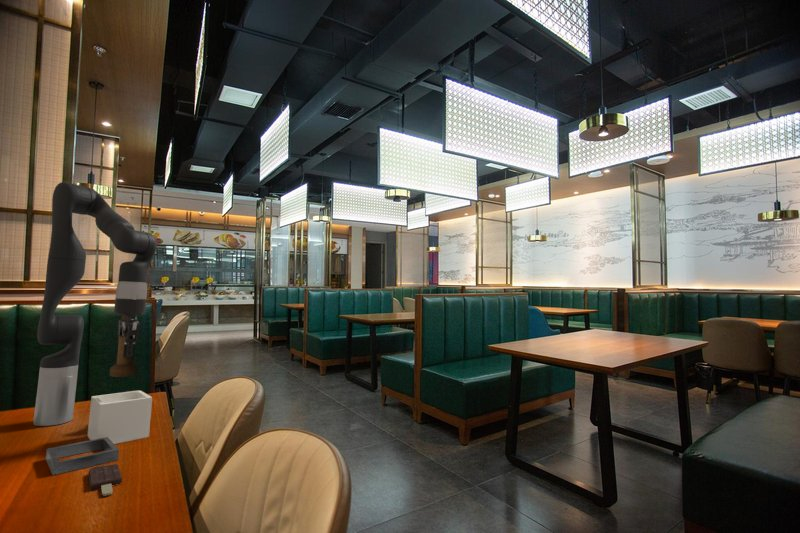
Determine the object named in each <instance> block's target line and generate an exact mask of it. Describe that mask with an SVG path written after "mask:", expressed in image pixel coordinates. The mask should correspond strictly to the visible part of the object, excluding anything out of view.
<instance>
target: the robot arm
mask: <svg viewBox="0 0 800 533" xmlns="http://www.w3.org/2000/svg"><path fill="white" fill-rule="evenodd" d="M51 200H52V201H51V234H50V244H49V251H48V255H47V262H46V263H47V264H46V272H45V285H44V295H43V301H42V307H41V311H40V315H39V316H40V317H39V321H38V325H37V326H38V327H37V335H36V336H37V337H36V338H37V342H38V343H39V344H40V345H43V346H44V345H46V346H48V345H66V347H64V348H63V349H62V350H60V351H58V352H55V353H51V354H49V355H47V356H43V357H42V358H41V359H40V361H39V362H40V363H39V373H38V381H37V391H36V397H35V407H34V413H33V414H34V416H33V424H32V425H33V426H36V427H49V426H56V425H57V426H58V425H61V424H65V423H69V422H71V421H72V420H73V418H74V409H75V400H76V391H77V383H78V375H79V374H78V371H79V363H80V362H79V361H80V352H81V344H82V340H83V335H84V334H83V333H84V328H85V327H84V326H85V321H84V318H83V316H82V315H80V314H55V313H56V309H57V308H58V305H59V304H60V303H61V301H62V300H63V299H64V297H66V295H67V294H68V293H69V292H70V291H71V290H72V289H73V288H74V287H75V286H76V285H77V284H78V283H79V282H80V281H81V280H82V279H83V277H84V275H85V272H86V271H85V270H86V263H87V255H86V250H85V249H84V247H83V244H82V243H81V241H80V240H79V238H78V236H77V235H76V233H75V230H74V227H73V220H72V219H73V218H72V217H73V214H78V215H84V216H85V215H86V216H90V217H92V218H95V220H94V222H95V224H96V227H97V228H98V230H99V231H101V232H102V233H103V235H106V237H108V238H109V239H110V241H111V243H112V245H113V246H114V248H115V249H116V250H118V251H120V252H122V253H125V254H132V255H133V254H134V255H135V257H134V259H133V260H131V261H130V260H129V261H124V262H122V263H121V264H120V265H119V268H118V278H117V279H118V280H117V281H118V282H117V286H116V290H115V299H114V310H113V313H114V314H117V315H121V319H119V320H118V321H117V340H118V341H119V336H123V337H124V349H123V357H124V358H131V357H132V356H133V346H134V344H135V345H136V343H137V342H138V338H139V331H140V329H141V328H140V327H141V323H140V322H139V320H138V315H144V314H145V313H146V308H147V306H146V305H147V296H148V286H147V285H148V275H149V273H148V272H149V268H150V266H151V264H152V261H153V259H154V256H155V254H156V251H157V248H158V241H157V239H156V236H155V235H154V234H152V233H150V232H146V231H140V230H137V229H136V230H135V227H134V225H133V224H132V223H131V222H130V221H128V220H127V219H126V218H124V217H123V216H122V215H120V214H119V213H118V212H116V211H115V210H114V209H113V207H111V206H110V205H109V203H108V202H106V200H105V199H104V198H103V197H102V196H101V194H100V193H99V192H97V191H96V189H93V188H91V187H88V186H85V185H84V186H83V185H79V184H75V183H71V182H66V181H62V182H59V183H57V185H56V186H55V188H54V190H53V193H52V198H51ZM124 314H125V315H126V319H125V321H124V319H123V316H124ZM130 336H132V338H130ZM134 347H135V346H134Z"/></svg>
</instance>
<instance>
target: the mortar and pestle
mask: <svg viewBox="0 0 800 533" xmlns="http://www.w3.org/2000/svg"><path fill="white" fill-rule="evenodd" d="M123 319H124V321H125V319H126V315H125V314H124V316H123ZM130 338H132V336H130ZM135 345H136V343H135V344H134V346H133V356H132V357H131V358H124V357H123V349H124V337H123V336H119V340H118V348H117V356H116V364H114V365H112V366H111V367H110V369H109V377H114V378H125V377H132V376H137V375H138V372H139V365H137V364H136V363H134V358H135V357H134V356H135Z"/></svg>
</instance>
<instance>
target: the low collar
mask: <svg viewBox="0 0 800 533" xmlns="http://www.w3.org/2000/svg"><path fill="white" fill-rule="evenodd" d="M98 450H99V452H95V451H98ZM100 450H103V451H100ZM119 451H120V448H118V447H117V446H116V444H113V442H112V441H111V440H110V439H109V438H108V437H105V438H100V439H95V440H90V439H89V440H85V441H80V442H74V443H69V444H64V445H59V446H55V447H48V448H47V449H46V455H45V461H46V463H47V467H48V469H49V470H50V473H51V475H52V476H56V475H60V474H63V473H67V472H68V473H69V472H73V471H78V470H81V469H85V468H90V467H91V468H92V467H96V466H100V465H102V464H103V465H105V464H108V463H111V462H112V463H113V462H116V461H119V454H120V452H119ZM89 452H95V453H90V454H86V455H81V456H76V457H71V458H67V457H70V456H75V455H79V454H84V453H89ZM64 457H66V458H67V459H63V460H59V459H61V458H64ZM55 474H56V475H55Z"/></svg>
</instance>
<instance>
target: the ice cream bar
mask: <svg viewBox="0 0 800 533" xmlns="http://www.w3.org/2000/svg"><path fill="white" fill-rule="evenodd" d="M120 471H121V470H120V467H119V464H118V463H114V464H107V465H105V464H103V465H102V464H101V465H96V466H92V467H91V468H90V469H89V471H88V484H89V485H88V486H90V487H89V492H93V491H92V490H94V491H97V490H96V489H98V490H101V496H102V495H103V496H102V497H108V496H111V495H113V493H114V492H113V491H114V490H113V486H112V485H116V484H120V483H121V484H122V478H123V477H122V475H121V472H120ZM121 484H120V485H121ZM116 486H117V485H116ZM100 488H101V489H100ZM110 494H111V495H110ZM107 495H108V496H107Z"/></svg>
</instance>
